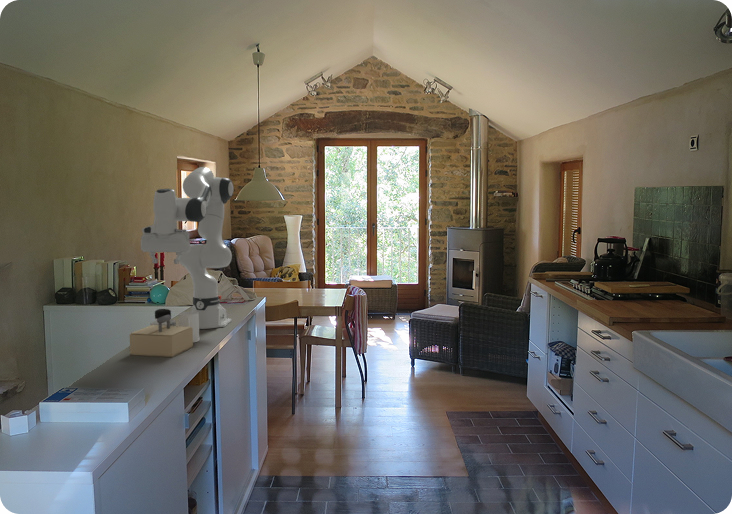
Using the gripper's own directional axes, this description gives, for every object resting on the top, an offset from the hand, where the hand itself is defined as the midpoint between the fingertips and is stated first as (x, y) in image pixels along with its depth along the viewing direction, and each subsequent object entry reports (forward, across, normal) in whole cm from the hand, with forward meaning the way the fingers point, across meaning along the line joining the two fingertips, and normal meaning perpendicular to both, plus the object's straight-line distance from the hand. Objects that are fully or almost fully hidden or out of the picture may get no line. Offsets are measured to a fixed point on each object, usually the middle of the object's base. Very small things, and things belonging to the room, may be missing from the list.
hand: (165, 263), depth 233 cm
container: (+34, +9, -14) cm, 38 cm away
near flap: (+26, -5, +4) cm, 27 cm away
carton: (+35, 0, +4) cm, 35 cm away
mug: (+34, -4, -12) cm, 37 cm away
